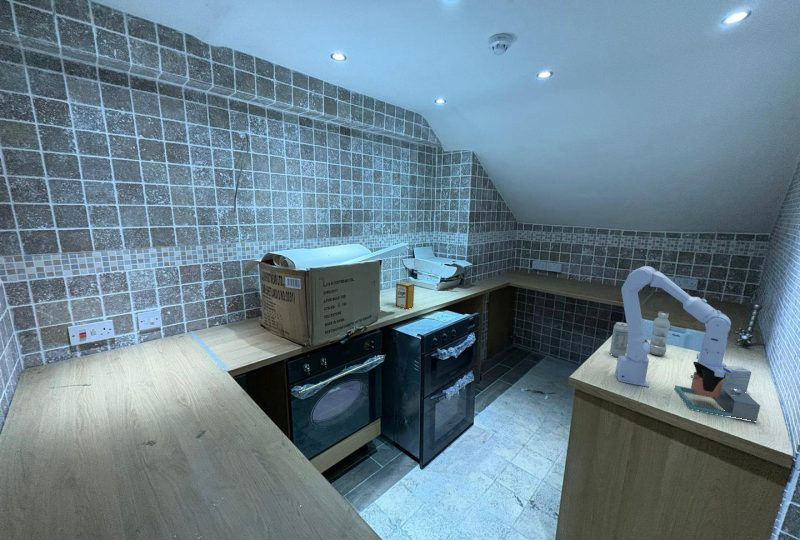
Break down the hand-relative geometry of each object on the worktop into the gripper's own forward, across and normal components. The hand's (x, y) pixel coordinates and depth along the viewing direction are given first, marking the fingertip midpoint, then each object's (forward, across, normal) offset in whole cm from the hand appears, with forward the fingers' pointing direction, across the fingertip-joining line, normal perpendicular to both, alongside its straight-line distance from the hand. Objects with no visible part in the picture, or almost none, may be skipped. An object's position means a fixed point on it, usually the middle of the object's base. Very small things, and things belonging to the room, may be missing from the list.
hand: (704, 387), depth 112 cm
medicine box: (+6, +16, -14) cm, 22 cm away
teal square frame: (+6, 0, -3) cm, 6 cm away
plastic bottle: (+6, +42, +2) cm, 42 cm away
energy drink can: (+6, +32, +19) cm, 38 cm away
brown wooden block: (+2, 0, 0) cm, 2 cm away
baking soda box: (+6, +55, +133) cm, 144 cm away
